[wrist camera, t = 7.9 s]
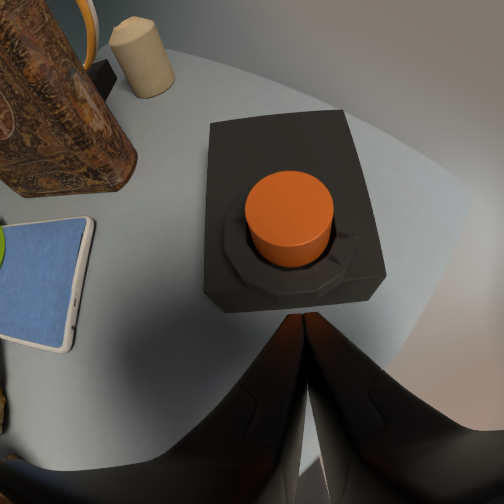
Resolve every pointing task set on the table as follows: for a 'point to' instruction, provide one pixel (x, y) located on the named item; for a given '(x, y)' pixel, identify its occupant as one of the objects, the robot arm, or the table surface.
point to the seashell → (1, 408)
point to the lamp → (95, 51)
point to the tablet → (43, 281)
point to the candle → (142, 57)
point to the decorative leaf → (1, 244)
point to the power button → (289, 218)
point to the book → (53, 112)
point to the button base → (237, 230)
